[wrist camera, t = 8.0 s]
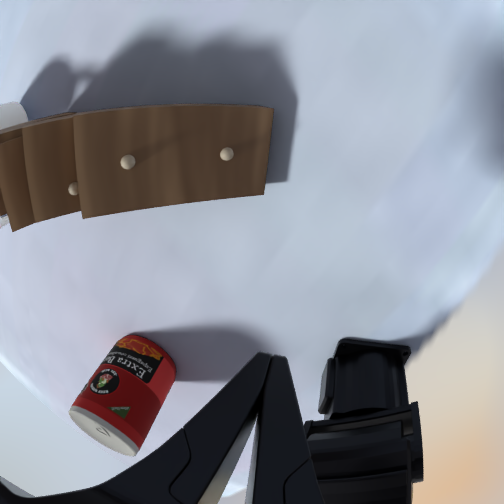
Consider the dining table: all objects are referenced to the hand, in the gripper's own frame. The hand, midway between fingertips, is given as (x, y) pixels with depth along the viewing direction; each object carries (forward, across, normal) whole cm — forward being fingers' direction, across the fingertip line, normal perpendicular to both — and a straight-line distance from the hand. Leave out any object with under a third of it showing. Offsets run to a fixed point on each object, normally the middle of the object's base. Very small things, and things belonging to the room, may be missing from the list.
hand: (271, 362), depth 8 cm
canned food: (+12, +14, +20) cm, 27 cm away
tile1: (+11, +3, -4) cm, 12 cm away
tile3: (+11, +10, -3) cm, 16 cm away
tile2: (+11, +7, -4) cm, 14 cm away
